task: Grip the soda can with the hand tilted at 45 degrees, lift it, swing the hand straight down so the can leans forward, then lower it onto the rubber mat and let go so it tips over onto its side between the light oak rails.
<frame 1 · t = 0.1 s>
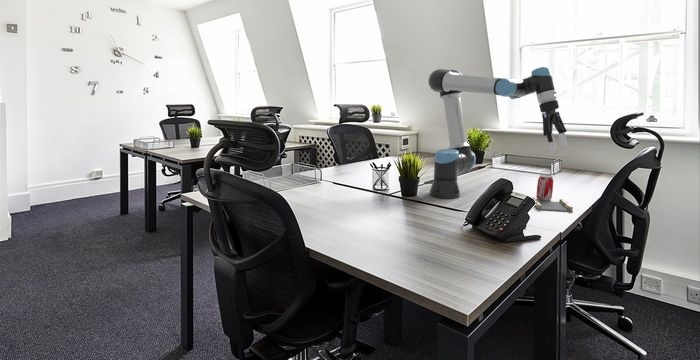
hand: (559, 148, 185), 28 cm above the table, tool tilted 20°, fingers open, 13 cm apart
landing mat: (550, 206, 195), on the table
soda can: (543, 200, 208), on the table
guide rails: (550, 203, 195), on the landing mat, point 1 cm above the table
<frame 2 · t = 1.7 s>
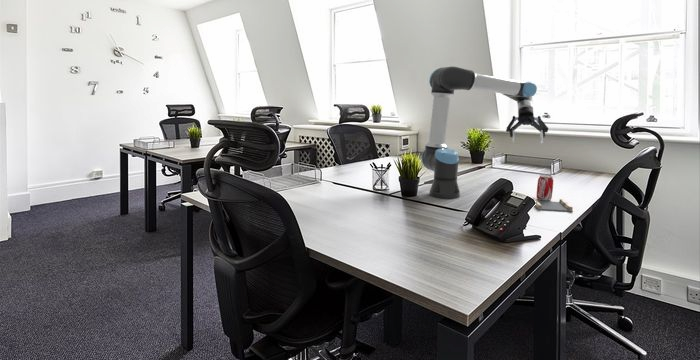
hand: (527, 141, 213), 28 cm above the table, tool tilted 45°, fingers open, 13 cm apart
nothing on the table moved.
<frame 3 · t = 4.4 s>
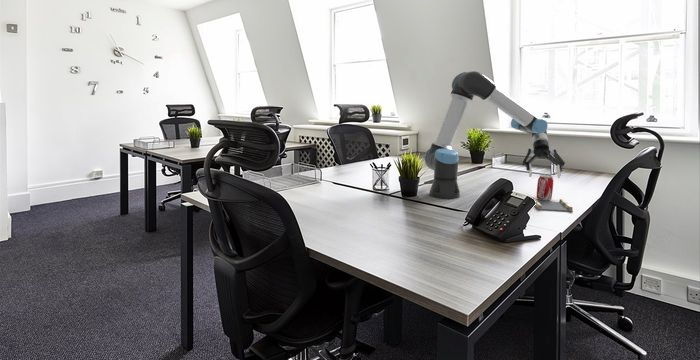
hand: (544, 176, 212), 11 cm above the table, tool tilted 45°, fingers open, 13 cm apart
nothing on the table moved.
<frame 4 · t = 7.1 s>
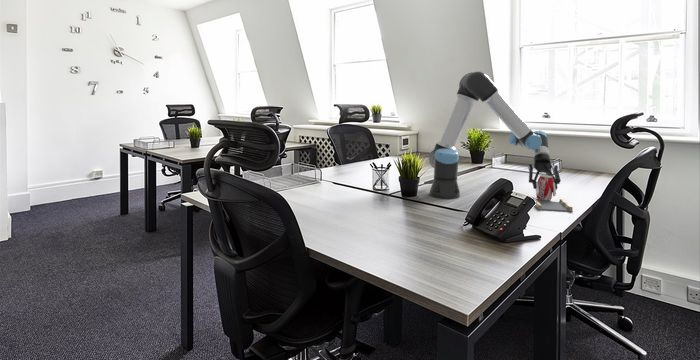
hand: (546, 194, 204), 4 cm above the table, tool tilted 45°, fingers closed on soda can, 7 cm apart
soda can: (543, 200, 208), on the table, touching gripper
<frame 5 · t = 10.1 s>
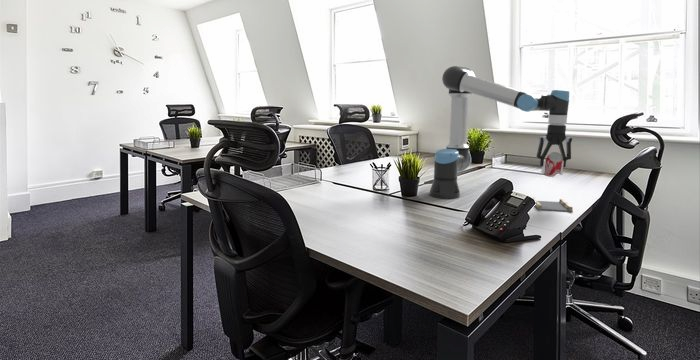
hand: (551, 173, 196), 15 cm above the table, tool pointing down, fingers closed on soda can, 7 cm apart
soda can: (548, 172, 201), point 15 cm above the table, touching gripper
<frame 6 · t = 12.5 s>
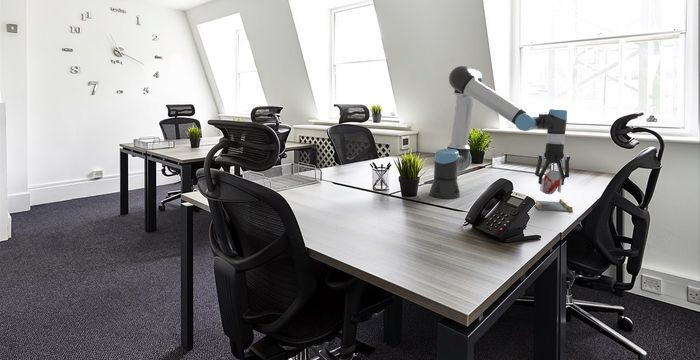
hand: (550, 191, 197), 7 cm above the table, tool pointing down, fingers closed on soda can, 7 cm apart
soda can: (547, 189, 202), point 6 cm above the table, touching gripper
when the fingers open (4 cm above the table, at t = 13.6 s): soda can moves 2 cm, resting on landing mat.
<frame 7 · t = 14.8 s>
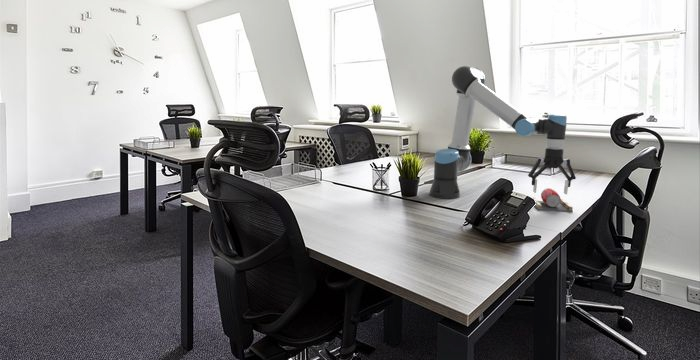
hand: (549, 193, 198), 6 cm above the table, tool pointing down, fingers open, 13 cm apart
soda can: (548, 194, 201), point 4 cm above the table, touching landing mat
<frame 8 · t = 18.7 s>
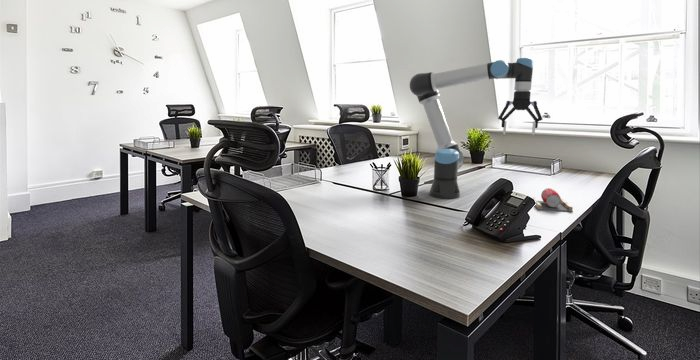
hand: (518, 134, 208), 32 cm above the table, tool pointing down, fingers open, 13 cm apart
nothing on the table moved.
at the end: soda can tilted 91°; soda can inside the target area on the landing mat (2.1 cm from its centre), point 4.3 cm above the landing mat's base; the gripper is holding nothing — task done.
